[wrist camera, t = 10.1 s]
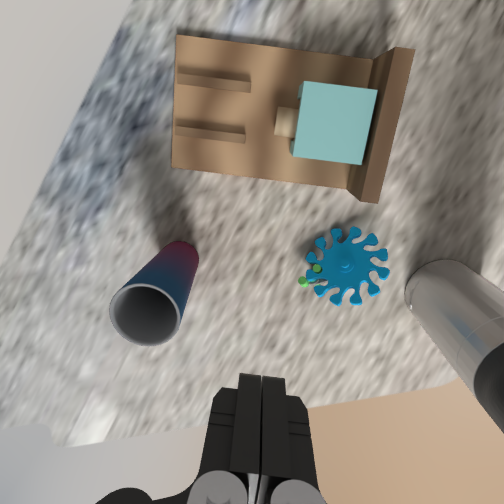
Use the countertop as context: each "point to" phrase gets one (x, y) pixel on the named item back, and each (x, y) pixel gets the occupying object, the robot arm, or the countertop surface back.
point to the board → (265, 111)
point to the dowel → (286, 122)
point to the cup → (156, 296)
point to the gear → (345, 266)
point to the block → (332, 122)
